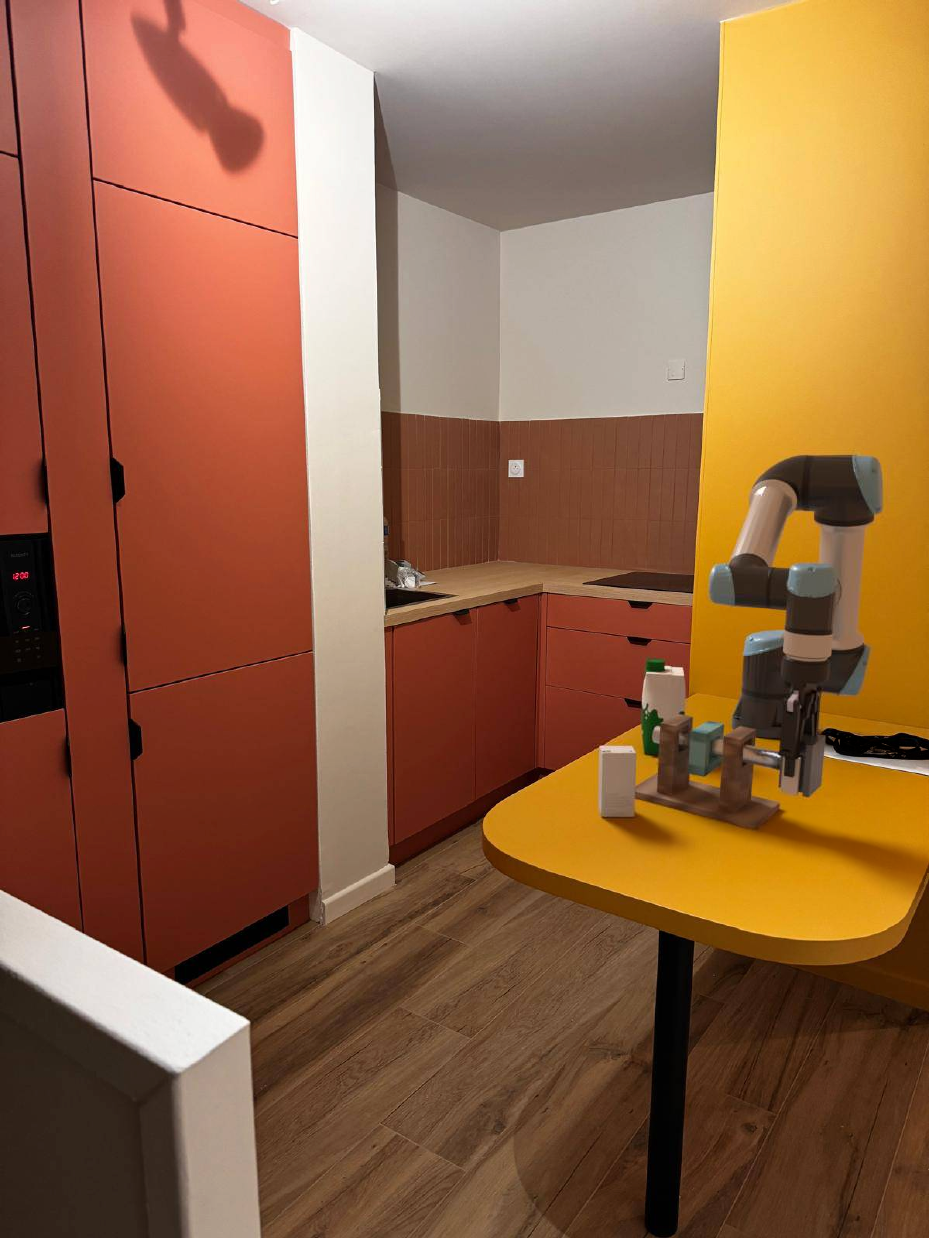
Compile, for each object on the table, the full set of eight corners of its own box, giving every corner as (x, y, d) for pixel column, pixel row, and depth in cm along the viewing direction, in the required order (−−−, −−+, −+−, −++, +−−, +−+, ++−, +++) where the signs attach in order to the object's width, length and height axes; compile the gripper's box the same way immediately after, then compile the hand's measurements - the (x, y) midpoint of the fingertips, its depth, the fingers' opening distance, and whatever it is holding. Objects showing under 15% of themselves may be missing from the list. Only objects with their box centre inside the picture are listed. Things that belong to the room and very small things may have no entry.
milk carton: (639, 742, 194) (644, 655, 190) (681, 745, 192) (686, 657, 189) (639, 755, 186) (644, 664, 182) (683, 758, 184) (688, 666, 180)
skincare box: (630, 808, 157) (633, 744, 155) (635, 818, 153) (638, 752, 150) (596, 808, 157) (598, 744, 155) (599, 818, 153) (602, 752, 151)
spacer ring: (688, 773, 157) (690, 730, 156) (706, 761, 163) (708, 720, 162) (704, 777, 155) (706, 734, 154) (721, 765, 161) (724, 723, 160)
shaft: (646, 759, 162) (649, 712, 161) (663, 749, 168) (665, 704, 166) (808, 797, 145) (812, 745, 143) (821, 785, 150) (825, 735, 148)
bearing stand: (629, 795, 163) (632, 721, 160) (657, 778, 172) (661, 707, 170) (755, 829, 148) (761, 748, 146) (779, 808, 158) (785, 731, 155)
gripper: (801, 644, 155) (791, 768, 159) (764, 662, 140) (754, 798, 144) (845, 650, 150) (833, 777, 154) (811, 670, 136) (800, 810, 140)
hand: (795, 787), depth 149 cm, fingers open, 6 cm apart
